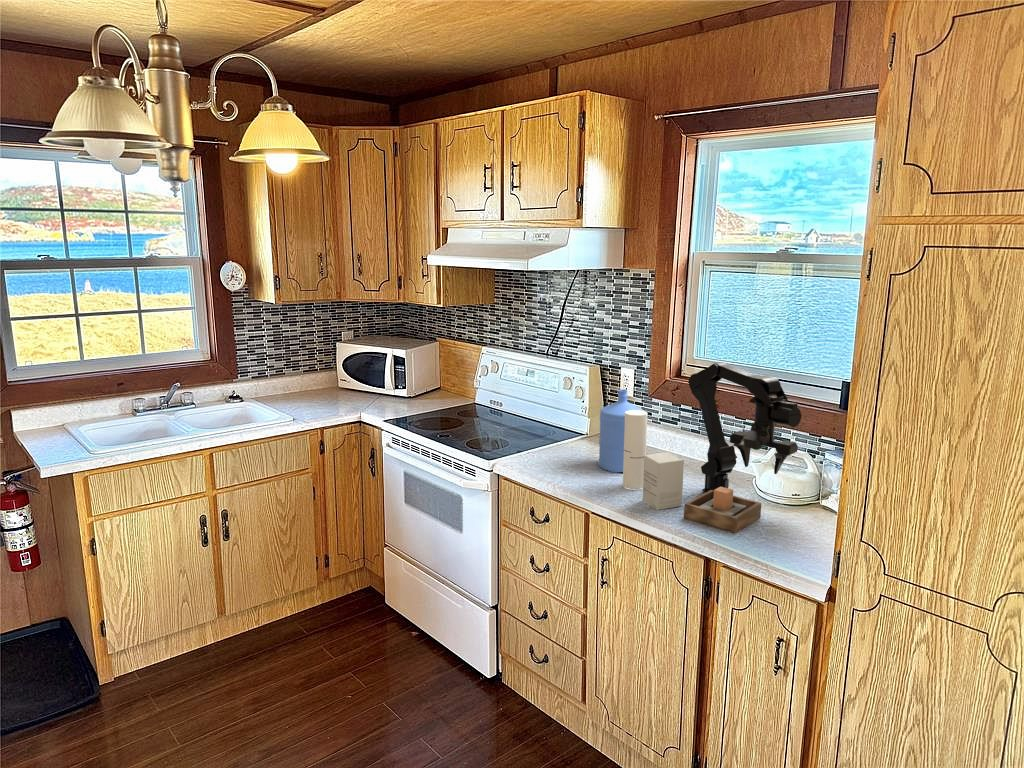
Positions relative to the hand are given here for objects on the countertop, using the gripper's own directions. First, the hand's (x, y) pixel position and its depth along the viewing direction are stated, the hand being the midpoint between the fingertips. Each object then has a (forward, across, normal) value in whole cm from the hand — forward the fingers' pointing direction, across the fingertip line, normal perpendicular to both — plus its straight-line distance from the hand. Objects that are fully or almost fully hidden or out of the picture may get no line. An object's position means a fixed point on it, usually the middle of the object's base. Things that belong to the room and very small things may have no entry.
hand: (760, 470), depth 208 cm
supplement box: (+12, -22, -18) cm, 31 cm away
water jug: (+12, -53, +2) cm, 55 cm away
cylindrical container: (+12, -38, -11) cm, 41 cm away
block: (+11, -4, -15) cm, 19 cm away
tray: (+12, -4, -15) cm, 19 cm away
